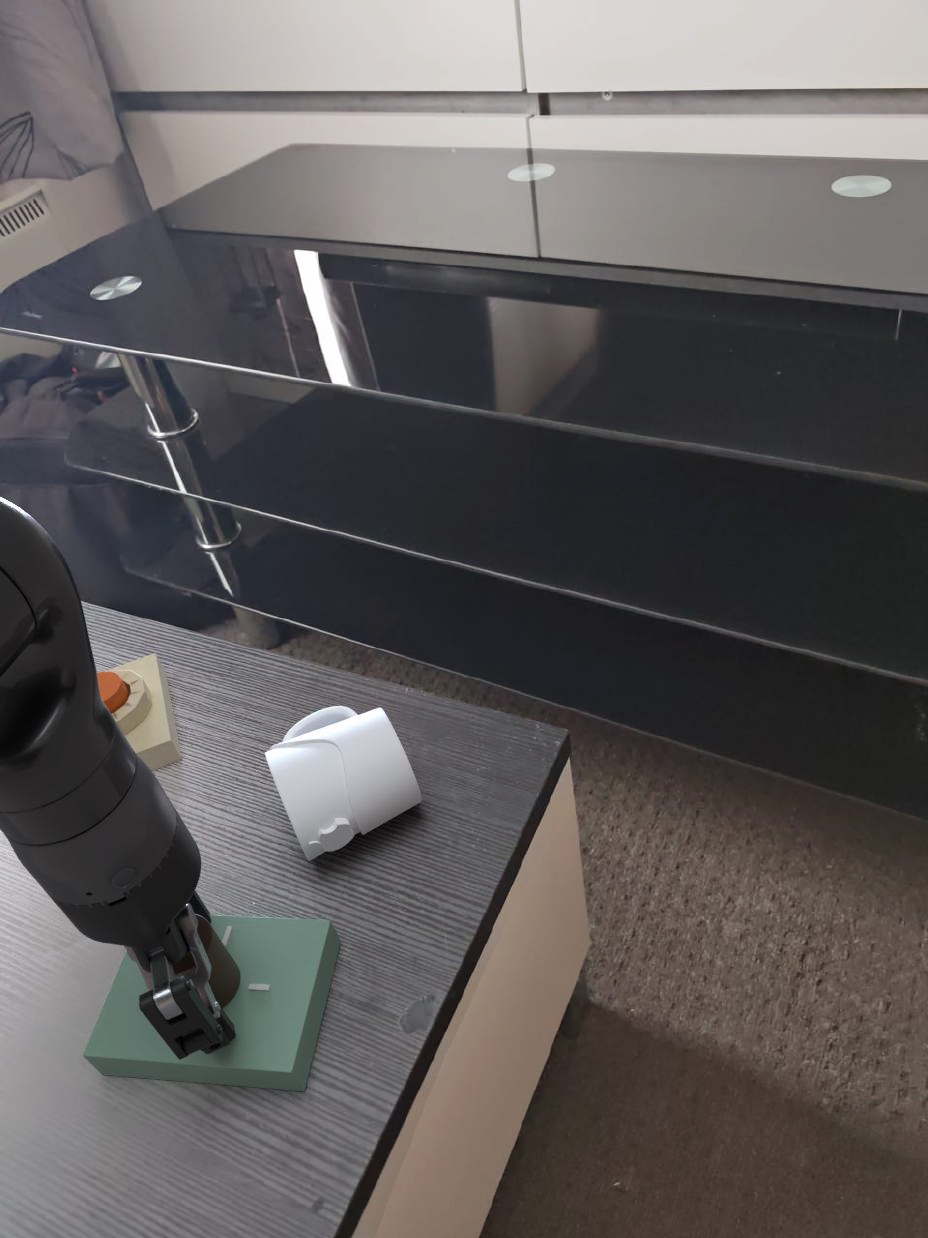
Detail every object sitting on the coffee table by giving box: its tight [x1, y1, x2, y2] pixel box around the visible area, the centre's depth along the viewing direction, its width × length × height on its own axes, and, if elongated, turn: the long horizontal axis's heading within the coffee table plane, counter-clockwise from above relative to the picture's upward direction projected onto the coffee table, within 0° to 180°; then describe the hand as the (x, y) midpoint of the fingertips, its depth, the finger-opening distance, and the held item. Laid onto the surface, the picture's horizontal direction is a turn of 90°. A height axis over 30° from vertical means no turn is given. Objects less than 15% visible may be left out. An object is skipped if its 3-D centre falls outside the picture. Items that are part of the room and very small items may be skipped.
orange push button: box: [97, 670, 129, 714], centre depth 79 cm, size 4×4×2 cm
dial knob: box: [172, 914, 240, 1008], centre depth 58 cm, size 4×4×6 cm
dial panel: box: [82, 914, 342, 1092], centre depth 61 cm, size 14×10×3 cm
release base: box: [103, 653, 183, 772], centre depth 81 cm, size 12×9×4 cm
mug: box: [264, 705, 422, 862], centre depth 70 cm, size 12×9×8 cm
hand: (207, 981), depth 59 cm, fingers open, 8 cm apart
